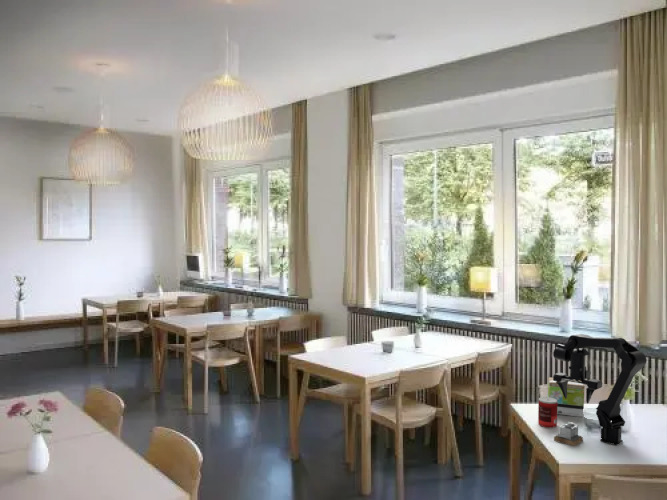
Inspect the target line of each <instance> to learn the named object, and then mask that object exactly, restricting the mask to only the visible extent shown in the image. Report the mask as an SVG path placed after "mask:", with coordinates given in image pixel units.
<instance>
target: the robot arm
mask: <svg viewBox="0 0 667 500" xmlns="http://www.w3.org/2000/svg"><path fill="white" fill-rule="evenodd" d="M590 347H591V348H605V349H606V348H609V349H613V350H614V351H615V353H616V355H617V357H618V359H620V360H621V361H620V373H619V374H618V376H617V377H616V381H615V383H614V385H613V387H612V388H611V391H610V392H609V395H608V397H607V399H603V400H600V401H599V402H598V405H597V407H595V410H596V412H595V415H596V416H597V420H598V423H599V426H600V427H601V428H600V440H599V441H600V442H603V443H605V444H606V443H607V444H610V445H614V446H618V445H620V444H622V443H623V439H622V430H623V429H622V427H624V426H625V424H626V421H625V419H624V418H623V416H622V415H621V410H622V409H621V403H622V401H623V399H624V397H625V395H626V392H627V391H628V388H629V387H630V385H631V383H632V381H633V379H634V377H635V376H636V375H637V374H638V372H640V371H641V370H642V369H643V368H644V367H645V365H646V364H647V361H648V359H647V357H646V356H645V354H644V353H643V352H641V351H640V350H639V349H638V348H637V347H636V346H634V345H632V344H631V343H629V342H628V341H627V340H626V339H625V338H623V337H593V336H590V335H588V334H583V333H579V334H572V335H569V338H568V340H567V341H566V343H565V344H562V343H558V344H556V347H555V348H554V350H553V353H552V354H553V358H554V359H555V360H559V361H562V362H567V363H568V362H569V366H568V369H569V375H568V374H567V373H564V372H556V373H554V374H553V376H552V378H553V381H557V382H556V383H557V384H558V385H559V387H560V388H561V390H562V393H563V395H564V397H565V399H566V398H567V384H568V381H571V382H576V383H580V384H584V386H585V385H586V386H587V387H586V388H585V391H586V392H585V393H586V394H585V395H586V396H585V397H586V399H585V400H586V401H585V402H586V404H589V403H590V401H591V399H592V396H593V395H594V392H595V391H596V390H599V389H601V388H603V382H602V380H600V379H596V378H591V371H589V370H588V369H587V366H586V356H590V355H591V353H590V351H588V350H587V348H590ZM581 381H582V382H581Z"/></svg>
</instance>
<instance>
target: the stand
mask: <svg viewBox="0 0 667 500" xmlns="http://www.w3.org/2000/svg"><path fill="white" fill-rule="evenodd" d="M583 439H584V436H582V435H580V434H578V436H576V437H574V438H572V439H571V440H570V439H567V438H563V437H559V433H558V434H556V435H555V436H553V440H554V442H557V443H562V444H565V445H569V446H572V447H575V446H577V445H578V444H580V443H582V442H583V441H584V440H583Z"/></svg>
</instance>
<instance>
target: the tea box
mask: <svg viewBox="0 0 667 500" xmlns="http://www.w3.org/2000/svg"><path fill="white" fill-rule="evenodd" d="M547 380H548V381H547V394H546V395H547V396H546V397H551V398H554V399H556V400H557V415H562V416H563V415H564V416H571V417H572V416H573V417H579V418H584V412H583V409H584V408H585V389H586V388H585V387H586V386H585V384H580V383H576V382H571V381H568V384H567V398H566V399H565V397H564V395H563V393H562V390H561V388H560V387H559V385H558V384H557V383H556V382H557V381H553V377H548V378H547ZM581 382H582V381H581Z"/></svg>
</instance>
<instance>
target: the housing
mask: <svg viewBox="0 0 667 500" xmlns="http://www.w3.org/2000/svg"><path fill="white" fill-rule="evenodd" d="M558 434H559V437H563V438H567V439H570V440H571V439H572V438H574V437H576V436H578V435H579V425H578V424H576V423H575V422H571V421H568V422H564V423H563V424H562V425H560V426H559V433H558Z"/></svg>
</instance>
